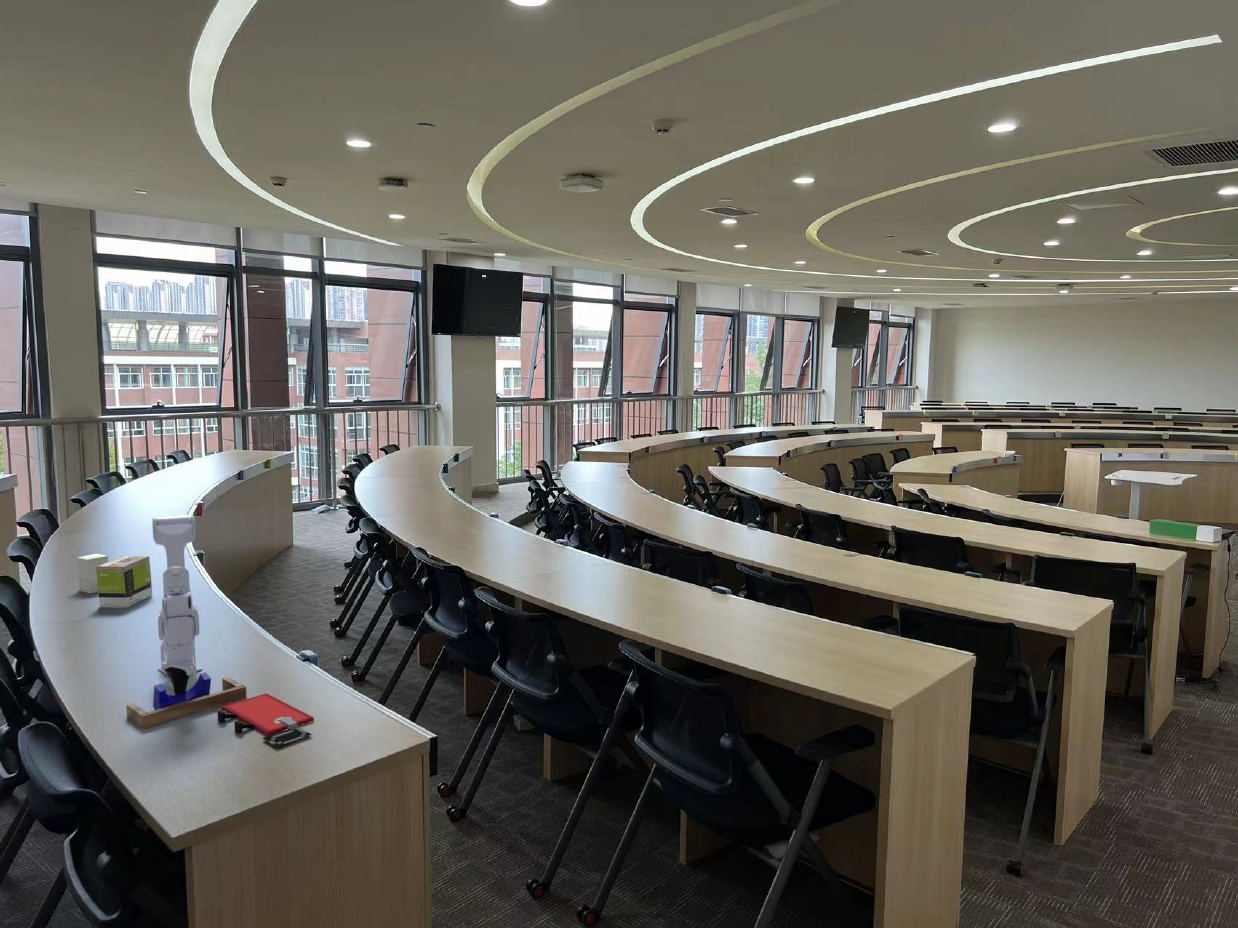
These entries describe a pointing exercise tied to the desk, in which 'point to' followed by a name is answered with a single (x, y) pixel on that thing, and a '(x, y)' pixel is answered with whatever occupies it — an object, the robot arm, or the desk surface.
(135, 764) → the desk surface
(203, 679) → the blue curved bracket
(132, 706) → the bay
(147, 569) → the tea box
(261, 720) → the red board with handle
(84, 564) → the supplement box
